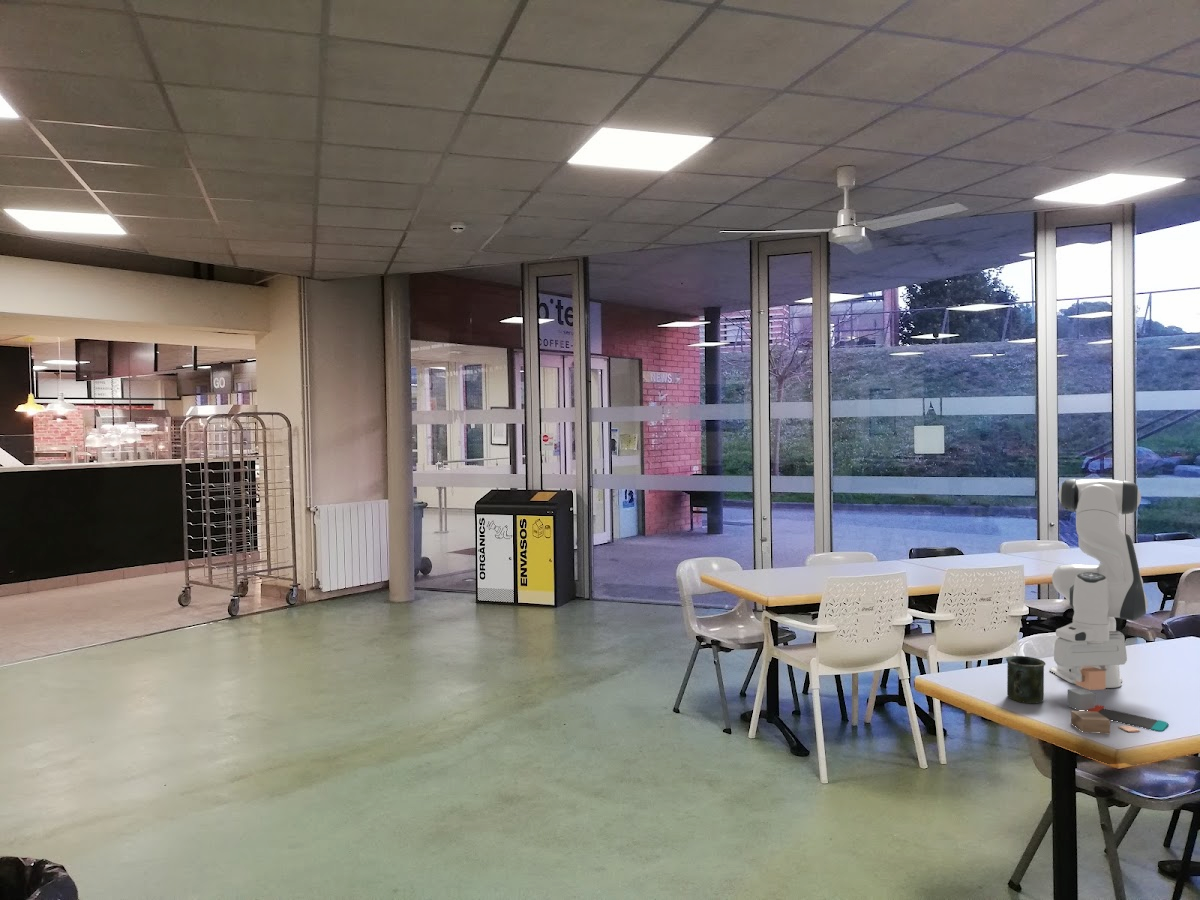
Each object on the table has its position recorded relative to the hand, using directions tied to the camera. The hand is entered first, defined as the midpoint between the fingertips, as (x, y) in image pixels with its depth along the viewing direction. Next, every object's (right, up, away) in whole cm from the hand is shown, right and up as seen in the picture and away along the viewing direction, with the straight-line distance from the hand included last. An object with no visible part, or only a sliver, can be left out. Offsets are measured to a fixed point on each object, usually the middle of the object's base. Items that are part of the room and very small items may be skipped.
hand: (1090, 681), depth 224 cm
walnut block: (0, -14, 0) cm, 14 cm away
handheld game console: (+15, -14, +8) cm, 22 cm away
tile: (+10, -13, -1) cm, 17 cm away
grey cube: (+8, -13, +17) cm, 23 cm away
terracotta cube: (0, -2, 0) cm, 2 cm away
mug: (-6, -13, +25) cm, 29 cm away
